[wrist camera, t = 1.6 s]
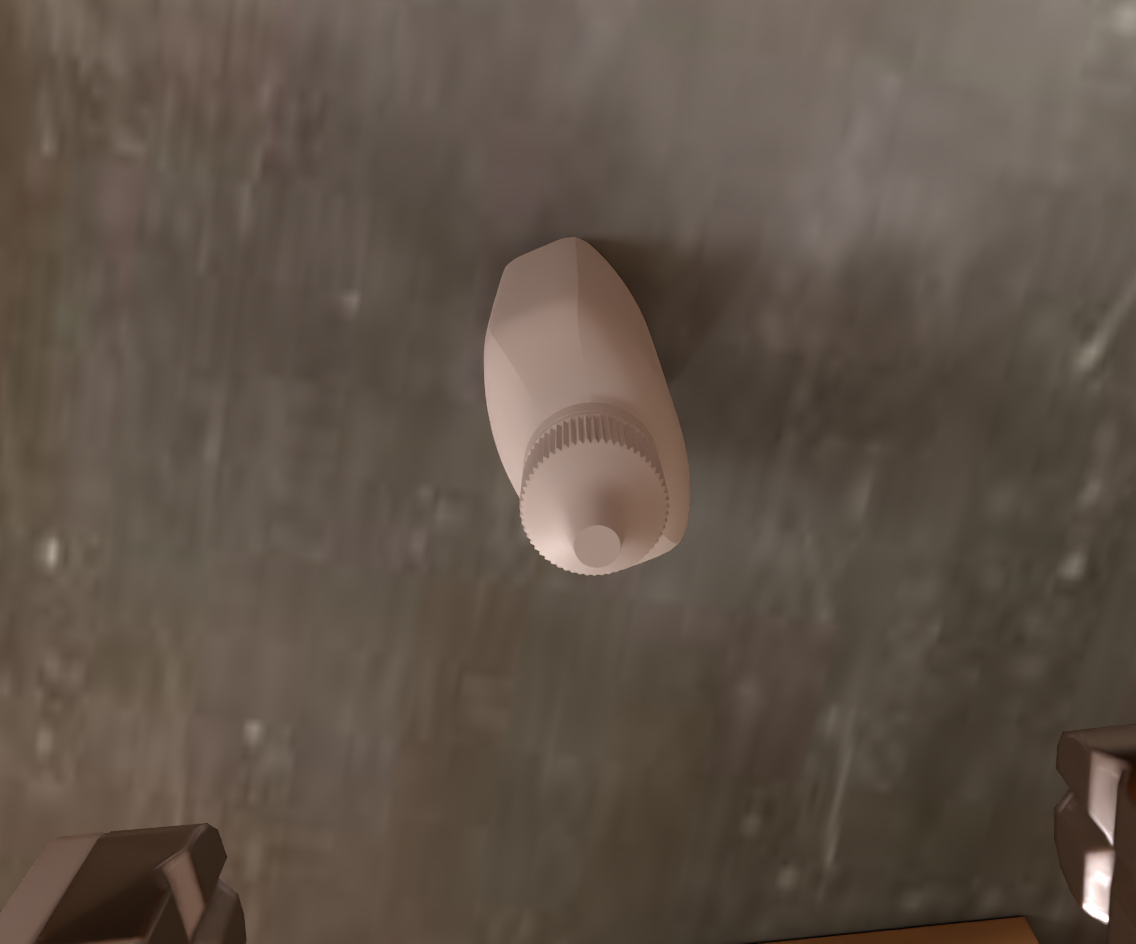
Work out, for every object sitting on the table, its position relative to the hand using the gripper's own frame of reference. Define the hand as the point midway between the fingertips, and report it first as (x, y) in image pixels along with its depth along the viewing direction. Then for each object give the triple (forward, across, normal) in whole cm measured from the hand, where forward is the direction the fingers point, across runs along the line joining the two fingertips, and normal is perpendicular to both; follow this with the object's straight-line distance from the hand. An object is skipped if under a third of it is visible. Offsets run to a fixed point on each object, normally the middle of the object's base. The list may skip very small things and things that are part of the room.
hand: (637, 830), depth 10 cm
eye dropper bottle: (+18, 0, 0) cm, 18 cm away
